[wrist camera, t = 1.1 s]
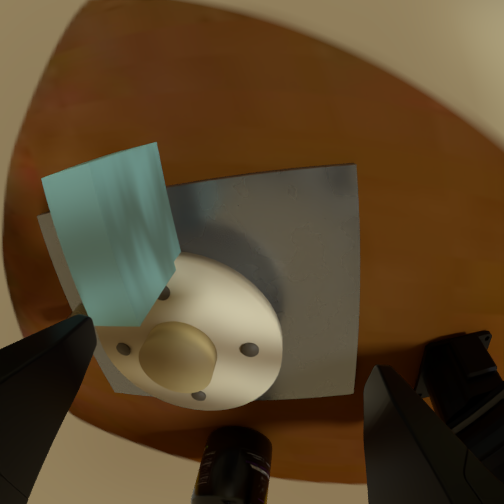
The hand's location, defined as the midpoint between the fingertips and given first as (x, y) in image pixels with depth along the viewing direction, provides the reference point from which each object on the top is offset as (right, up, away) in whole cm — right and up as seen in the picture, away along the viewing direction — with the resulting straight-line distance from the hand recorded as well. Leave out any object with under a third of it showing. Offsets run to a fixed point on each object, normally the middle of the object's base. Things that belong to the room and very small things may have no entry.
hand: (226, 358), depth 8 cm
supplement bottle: (-1, -17, +21) cm, 27 cm away
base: (-3, -2, +14) cm, 15 cm away
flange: (-4, 0, +11) cm, 11 cm away
